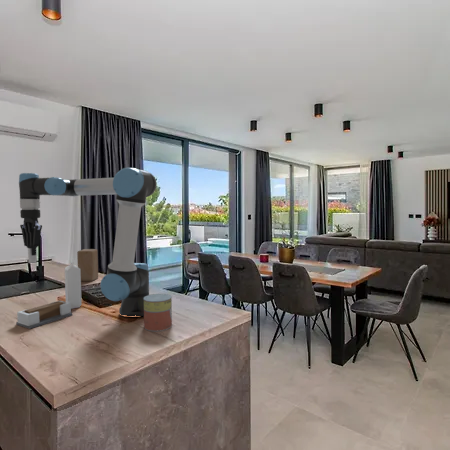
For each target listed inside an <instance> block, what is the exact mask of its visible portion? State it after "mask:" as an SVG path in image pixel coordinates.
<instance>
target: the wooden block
mask: <svg viewBox="0 0 450 450" xmlns="http://www.w3.org/2000/svg"><path fill="white" fill-rule="evenodd" d="M76 255H77V267H78V268H80V272H81V282H94V281H95V280H97V279H98V278H99V259H98V258H99V256H98V249H97V248H95V249H94V248H83V249H81V250H77V253H76Z"/></svg>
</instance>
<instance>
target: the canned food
mask: <svg viewBox="0 0 450 450" xmlns="http://www.w3.org/2000/svg"><path fill="white" fill-rule="evenodd" d="M143 299H144V317H143V329H144V330H145V331H148V332H165V331H166V330H169V329H171V328H172V327H173V317H172V316H173V313H172V310H173V309H172V306H173V305H172V304H173V303H172V302H173V301H172V299H173V296H172V295H171V294H168V293H153V294H149V295H148V296H145V297H144V298H143Z"/></svg>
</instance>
